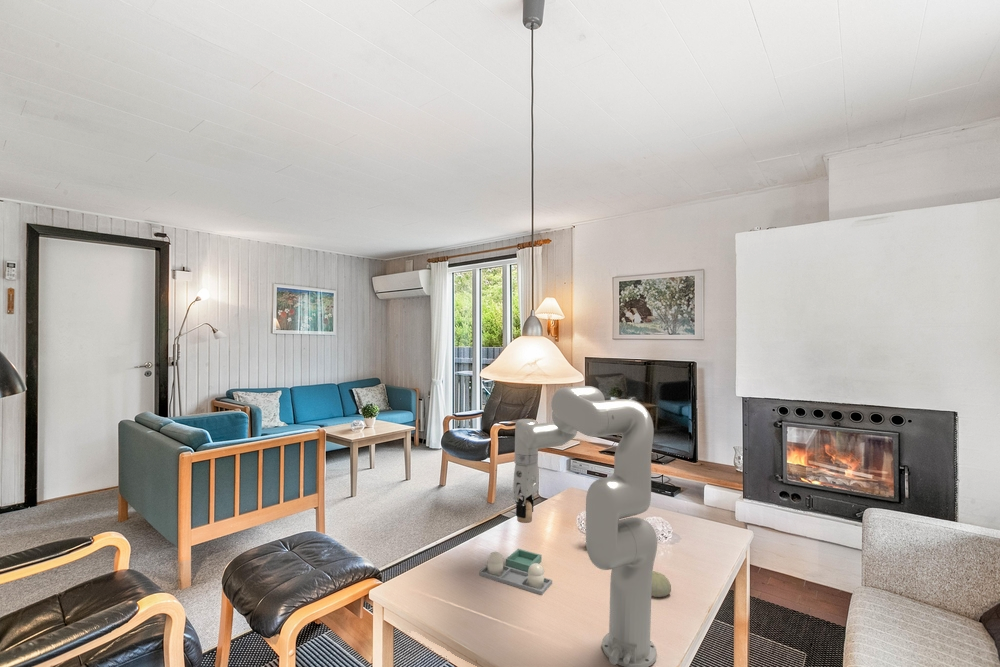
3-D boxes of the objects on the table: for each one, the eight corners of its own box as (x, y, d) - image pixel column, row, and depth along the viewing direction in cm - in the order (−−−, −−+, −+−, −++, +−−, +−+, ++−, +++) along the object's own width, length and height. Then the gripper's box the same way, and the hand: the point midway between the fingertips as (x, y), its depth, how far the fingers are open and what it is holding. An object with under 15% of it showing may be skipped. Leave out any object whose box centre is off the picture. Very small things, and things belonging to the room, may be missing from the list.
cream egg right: (539, 591, 139) (540, 569, 139) (524, 586, 141) (525, 565, 141) (546, 584, 143) (546, 562, 143) (531, 579, 146) (532, 558, 146)
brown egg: (528, 524, 152) (528, 504, 152) (514, 521, 154) (514, 501, 154) (534, 519, 156) (534, 499, 156) (521, 516, 159) (521, 496, 158)
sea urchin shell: (652, 596, 135) (641, 566, 141) (640, 605, 141) (630, 576, 146) (679, 592, 138) (668, 563, 143) (667, 600, 143) (657, 572, 149)
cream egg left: (498, 578, 146) (498, 557, 146) (484, 574, 148) (485, 553, 148) (505, 571, 150) (506, 551, 150) (492, 567, 152) (492, 547, 152)
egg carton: (541, 596, 137) (542, 591, 137) (478, 576, 148) (479, 571, 148) (552, 584, 144) (552, 579, 144) (491, 566, 154) (491, 561, 154)
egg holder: (530, 574, 150) (530, 566, 150) (505, 567, 154) (505, 559, 154) (541, 562, 157) (541, 555, 157) (518, 556, 161) (518, 548, 161)
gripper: (524, 466, 146) (523, 526, 146) (547, 454, 160) (546, 508, 161) (503, 462, 149) (501, 520, 150) (527, 450, 164) (525, 503, 164)
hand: (524, 513), depth 155 cm, fingers closed on brown egg, 4 cm apart
